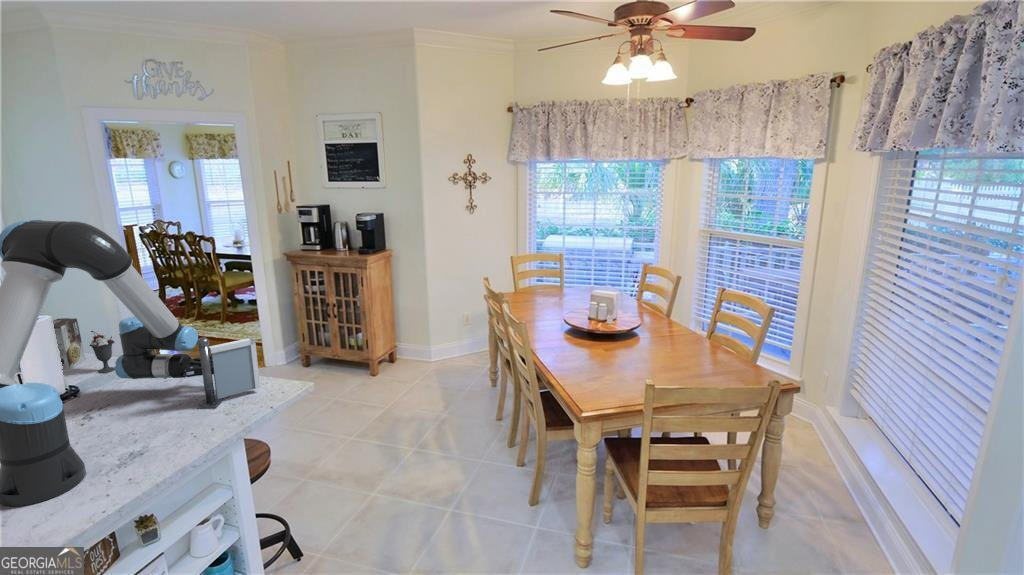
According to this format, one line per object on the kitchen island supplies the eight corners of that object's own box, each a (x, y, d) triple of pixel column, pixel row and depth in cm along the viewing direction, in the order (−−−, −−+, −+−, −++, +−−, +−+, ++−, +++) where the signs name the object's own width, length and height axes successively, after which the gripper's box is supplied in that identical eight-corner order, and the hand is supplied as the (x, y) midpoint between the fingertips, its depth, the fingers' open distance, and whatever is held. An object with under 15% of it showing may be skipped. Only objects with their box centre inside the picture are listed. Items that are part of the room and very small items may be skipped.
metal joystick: (216, 408, 154) (207, 340, 148) (198, 408, 153) (189, 340, 148) (223, 400, 159) (215, 334, 153) (206, 401, 158) (197, 334, 153)
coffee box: (66, 360, 186) (57, 318, 182) (86, 359, 187) (77, 317, 183) (48, 370, 177) (39, 326, 173) (69, 369, 178) (60, 325, 174)
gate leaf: (217, 399, 156) (210, 348, 152) (215, 397, 157) (208, 346, 153) (260, 387, 164) (255, 339, 160) (258, 385, 166) (252, 337, 162)
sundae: (89, 372, 176) (81, 331, 172) (109, 365, 182) (102, 325, 178) (103, 375, 174) (95, 333, 170) (123, 368, 180) (116, 327, 177)
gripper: (186, 368, 169) (260, 366, 172) (162, 386, 155) (243, 384, 158) (183, 346, 167) (258, 345, 170) (158, 363, 154) (241, 362, 156)
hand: (251, 364), depth 164 cm, fingers closed
